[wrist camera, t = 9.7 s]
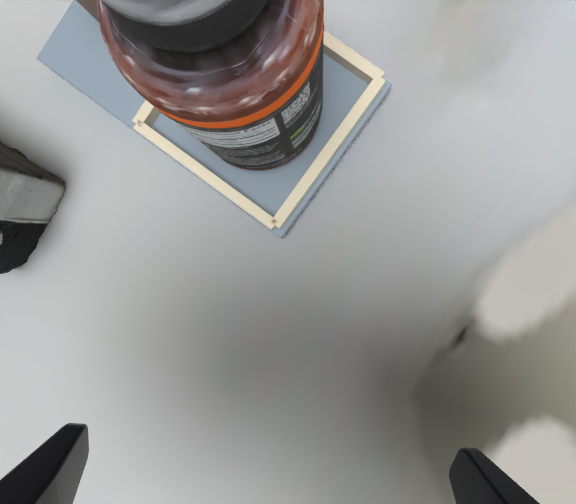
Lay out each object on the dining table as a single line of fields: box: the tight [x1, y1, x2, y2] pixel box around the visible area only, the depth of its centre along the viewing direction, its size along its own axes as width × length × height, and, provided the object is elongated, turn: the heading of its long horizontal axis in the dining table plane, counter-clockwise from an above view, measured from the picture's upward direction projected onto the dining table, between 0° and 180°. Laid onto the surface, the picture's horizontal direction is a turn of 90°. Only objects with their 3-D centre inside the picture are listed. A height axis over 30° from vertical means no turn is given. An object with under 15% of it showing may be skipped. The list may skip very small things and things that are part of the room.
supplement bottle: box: [97, 0, 324, 171], centre depth 13 cm, size 6×6×11 cm
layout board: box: [36, 0, 392, 238], centre depth 15 cm, size 15×9×9 cm, turn 54°
